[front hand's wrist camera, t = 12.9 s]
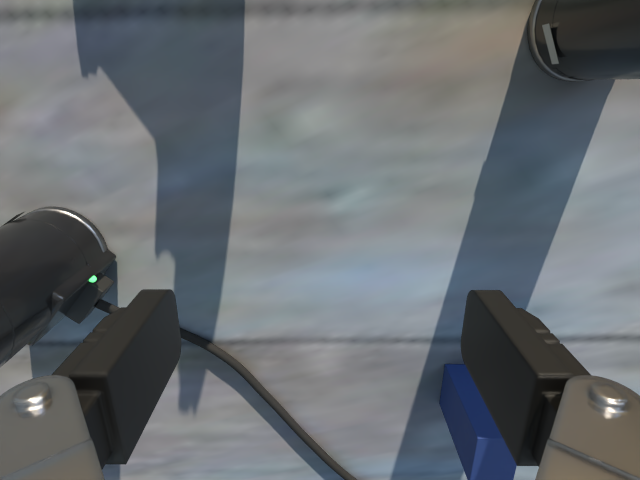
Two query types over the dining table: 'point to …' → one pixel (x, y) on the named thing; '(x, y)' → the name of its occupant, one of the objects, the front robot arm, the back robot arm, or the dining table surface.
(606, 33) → the back robot arm
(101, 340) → the front robot arm
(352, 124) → the dining table surface
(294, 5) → the dining table surface
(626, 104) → the dining table surface
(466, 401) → the block
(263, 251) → the dining table surface
